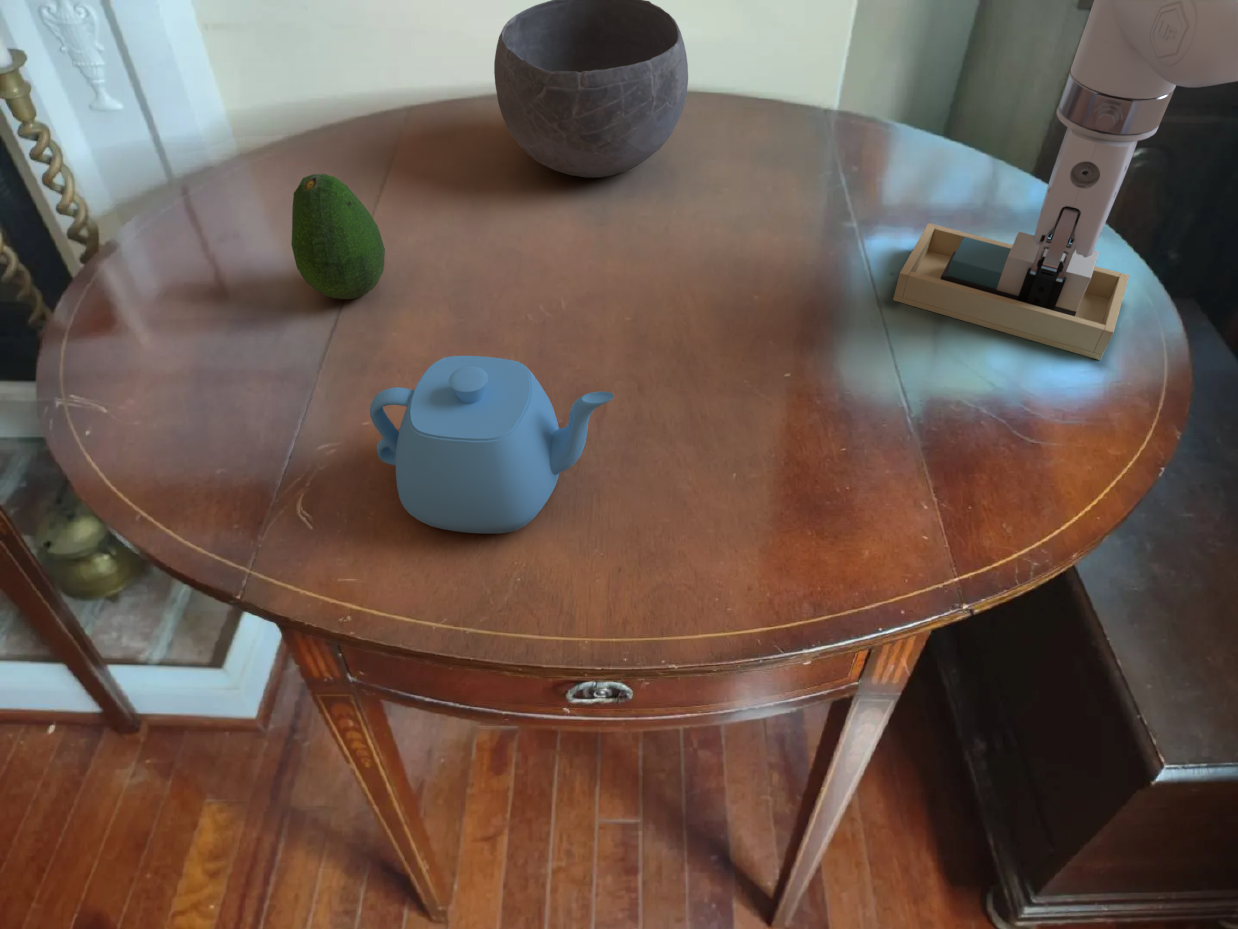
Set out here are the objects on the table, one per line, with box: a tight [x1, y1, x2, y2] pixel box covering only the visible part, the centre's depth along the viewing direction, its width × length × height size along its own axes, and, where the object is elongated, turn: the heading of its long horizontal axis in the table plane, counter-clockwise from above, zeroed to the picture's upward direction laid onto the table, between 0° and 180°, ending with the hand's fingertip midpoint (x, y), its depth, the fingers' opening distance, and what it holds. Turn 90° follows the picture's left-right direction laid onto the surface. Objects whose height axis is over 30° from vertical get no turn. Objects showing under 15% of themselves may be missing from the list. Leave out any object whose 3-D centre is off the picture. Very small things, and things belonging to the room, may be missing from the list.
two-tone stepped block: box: [941, 231, 1100, 316], centre depth 86 cm, size 12×5×5 cm, turn 62°
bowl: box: [493, 0, 689, 178], centre depth 102 cm, size 20×20×15 cm
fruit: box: [290, 173, 386, 300], centre depth 85 cm, size 8×8×12 cm
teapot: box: [369, 355, 615, 535], centre depth 69 cm, size 13×11×18 cm
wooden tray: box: [892, 222, 1130, 361], centre depth 87 cm, size 19×10×3 cm, turn 62°
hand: (1039, 293), depth 86 cm, fingers closed on two-tone stepped block, 4 cm apart
